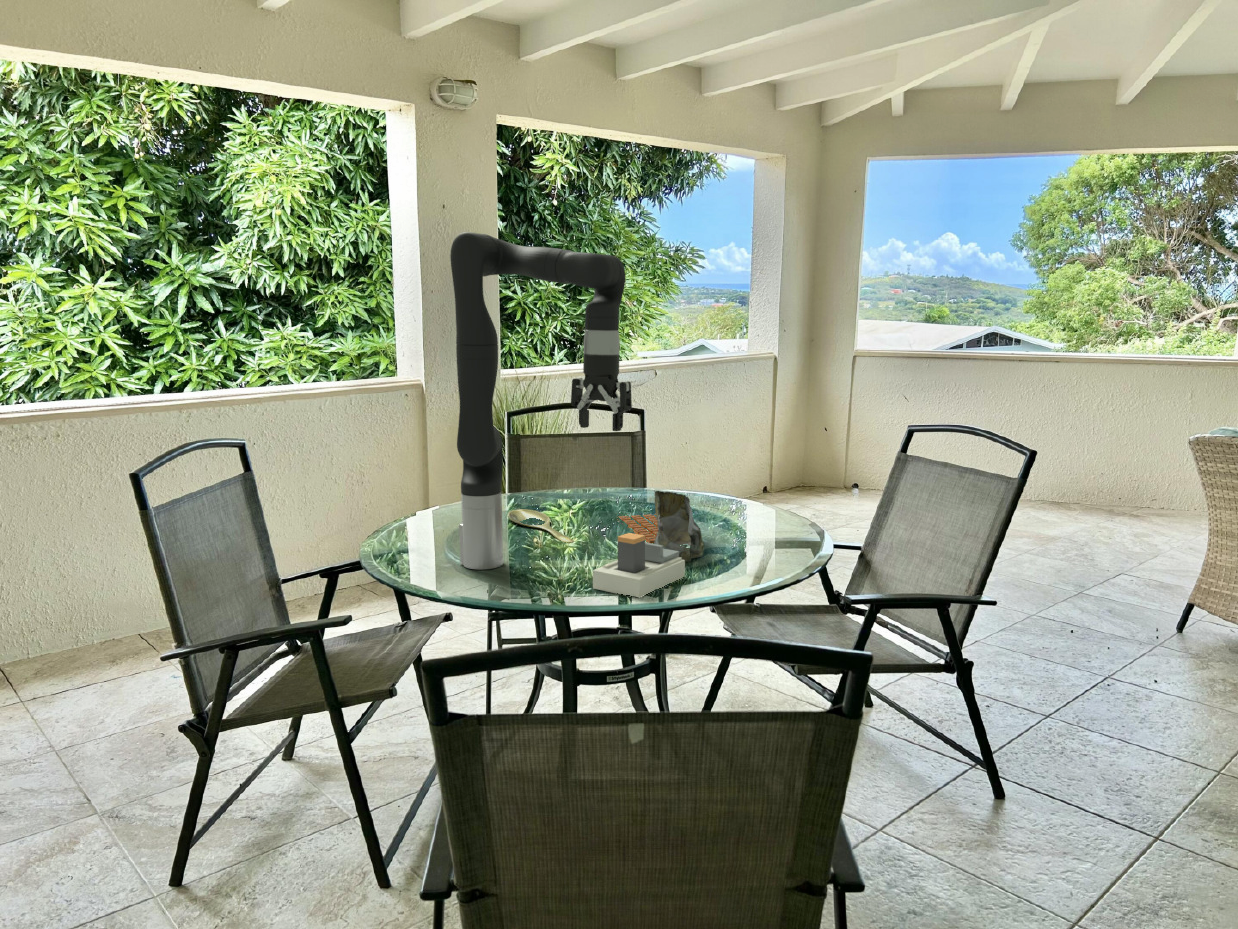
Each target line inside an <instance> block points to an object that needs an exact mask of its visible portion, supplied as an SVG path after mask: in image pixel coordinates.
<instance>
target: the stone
mask: <svg viewBox="0 0 1238 929" xmlns="http://www.w3.org/2000/svg"><path fill="white" fill-rule="evenodd" d="M653 492H654V511H655V513H654V514H656V519H657V523H658V524H657V526H658V532H657V537H656V539H655V542H654V544H657V545H663V549H669V550H674V551H679V557H681V558H682V560H685V563H686V562H687V563H688V562H691V561H692V559H694V558H700V557H703V555H704V549H705V548H704V547H705V545H704V544H705V543H704V540H703V536H702V530H701V527H699V526H698V524H697V522H696V521H695V519H694V516H693V510H692V506H691V505H690V504H691V502H690V501H691V499H690V497H689V496H687V495H686V494H682V493H681V494H680V493H677V492H673V491H660V490H653ZM683 544H688V545H689V546H690V548H686V547H684V546H680V545H683Z"/></svg>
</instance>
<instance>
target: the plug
mask: <svg viewBox="0 0 1238 929" xmlns="http://www.w3.org/2000/svg"><path fill="white" fill-rule="evenodd" d="M617 560H618V570H619V571H624V572H629V573H634V574H636V573H638V572H641V571H643V570H645V535H639V534H635V533H634V532H633V533H632V532H628V533H625V534H622V535H619V536H617Z"/></svg>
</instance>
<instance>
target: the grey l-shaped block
mask: <svg viewBox="0 0 1238 929" xmlns="http://www.w3.org/2000/svg"><path fill="white" fill-rule="evenodd" d="M676 557H679V551H674V550H669V549H663V545H657V544H652V543H647V542H645V560H648V561H654V562H659V563H665V562H667V561H669V560H672V559H674V558H676Z"/></svg>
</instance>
